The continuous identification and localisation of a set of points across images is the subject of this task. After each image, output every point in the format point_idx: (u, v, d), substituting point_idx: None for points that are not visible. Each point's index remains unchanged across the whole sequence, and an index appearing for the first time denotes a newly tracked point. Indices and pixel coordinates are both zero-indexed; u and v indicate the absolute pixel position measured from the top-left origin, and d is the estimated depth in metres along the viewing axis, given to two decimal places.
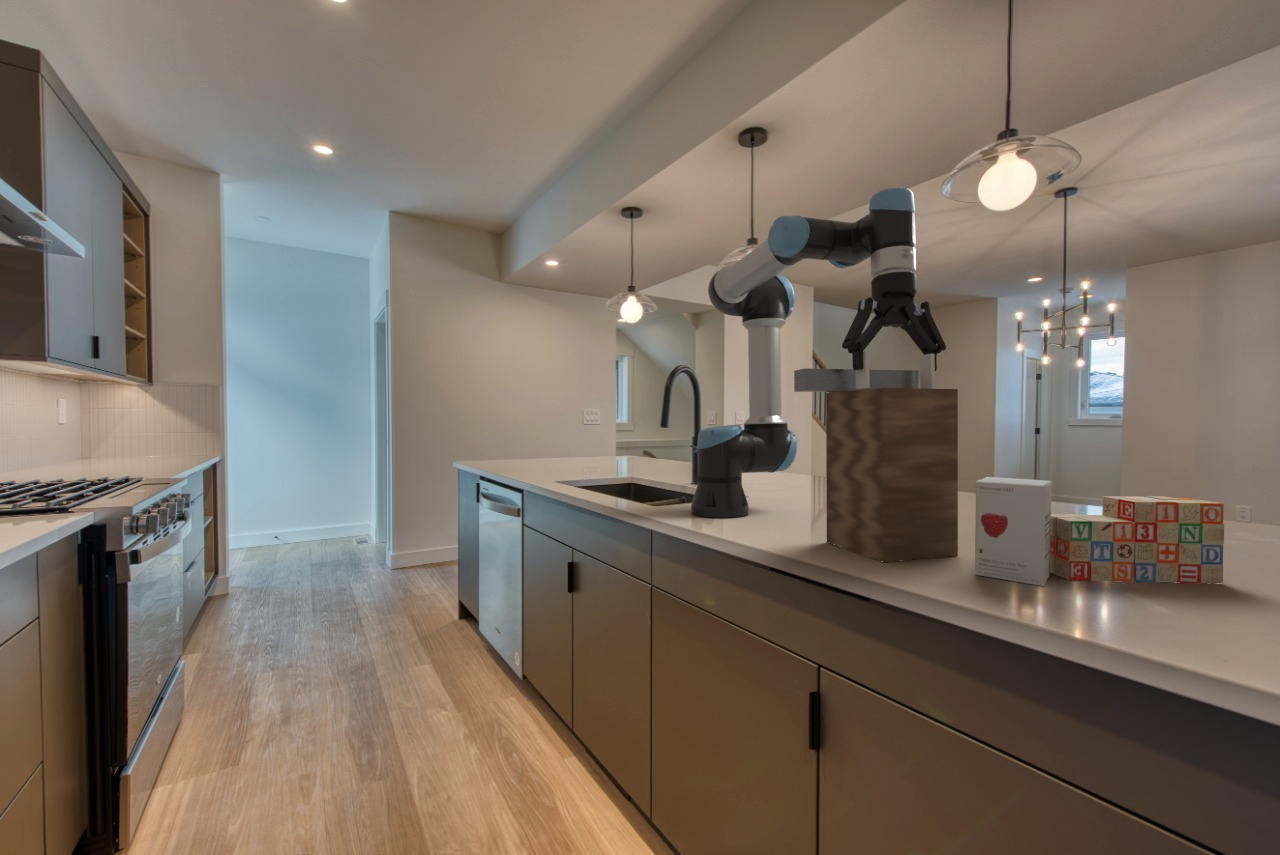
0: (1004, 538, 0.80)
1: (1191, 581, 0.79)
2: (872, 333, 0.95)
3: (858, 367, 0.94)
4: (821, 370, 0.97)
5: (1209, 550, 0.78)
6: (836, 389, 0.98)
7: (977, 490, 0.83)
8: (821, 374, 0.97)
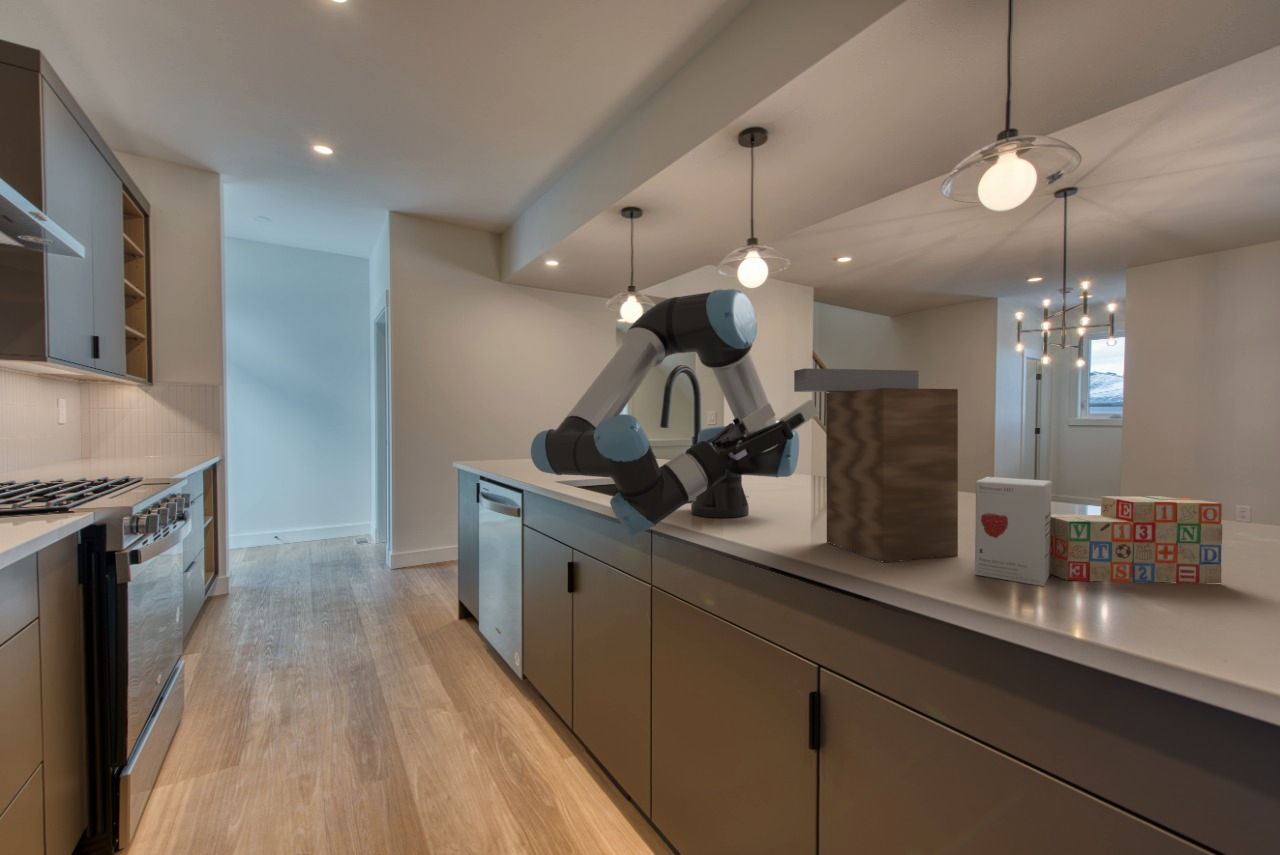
0: (1004, 538, 0.80)
1: (1189, 581, 0.78)
2: None
3: None
4: (821, 370, 0.97)
5: (1207, 550, 0.78)
6: (836, 389, 0.98)
7: (977, 490, 0.83)
8: (821, 374, 0.97)
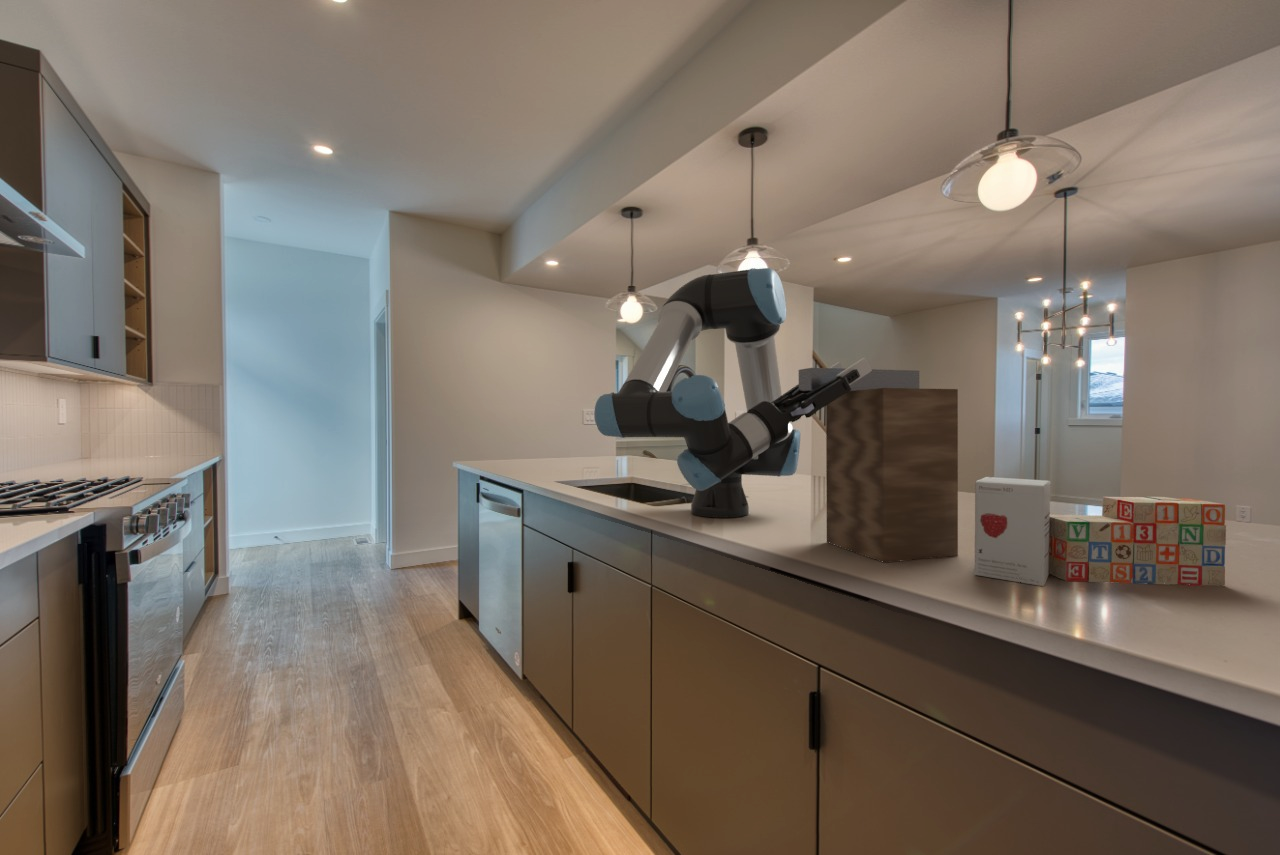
0: (1004, 538, 0.80)
1: (1192, 582, 0.78)
2: None
3: None
4: (826, 369, 0.96)
5: (1210, 551, 0.77)
6: None
7: (977, 490, 0.83)
8: (826, 374, 0.96)
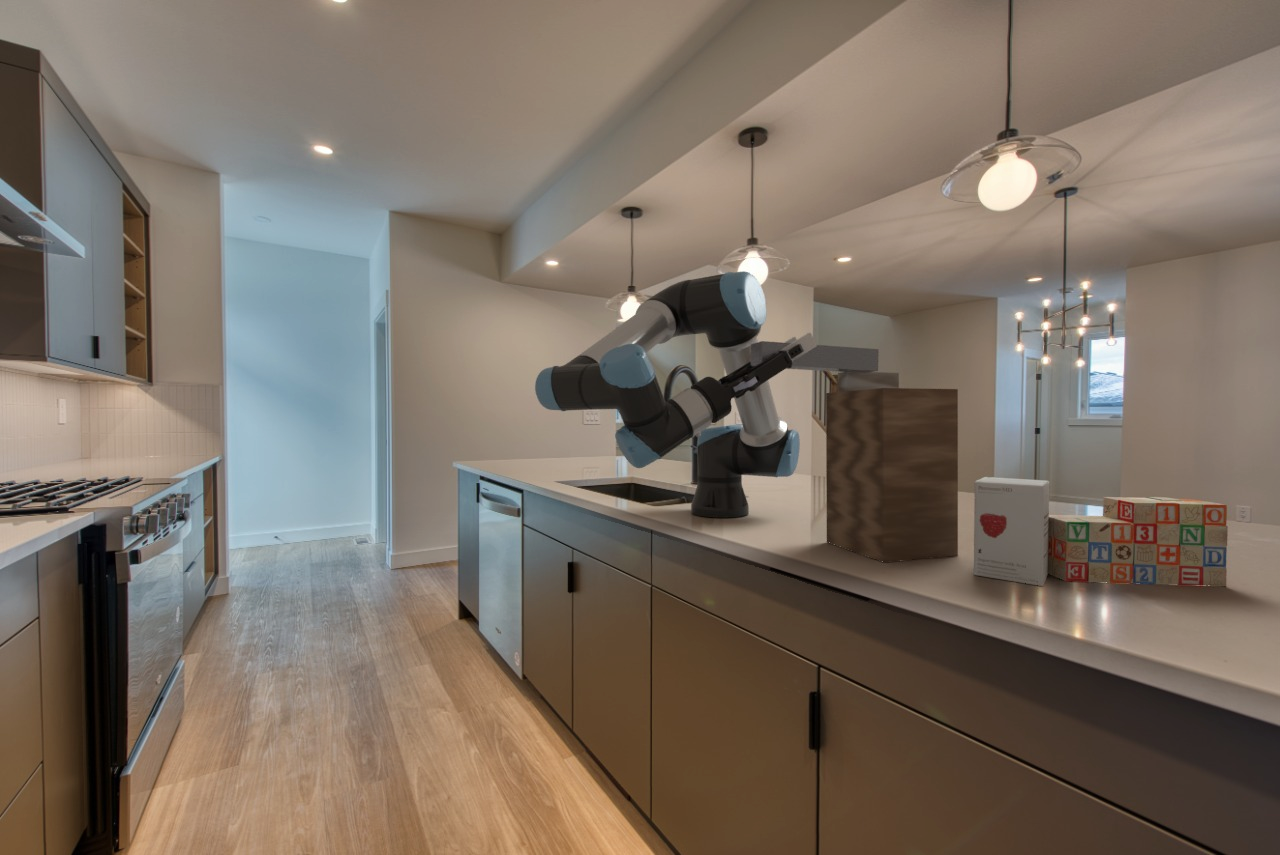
0: (1003, 538, 0.80)
1: (1193, 583, 0.77)
2: None
3: None
4: (779, 344, 0.92)
5: (1212, 552, 0.77)
6: (794, 364, 0.93)
7: (976, 490, 0.83)
8: (778, 348, 0.92)
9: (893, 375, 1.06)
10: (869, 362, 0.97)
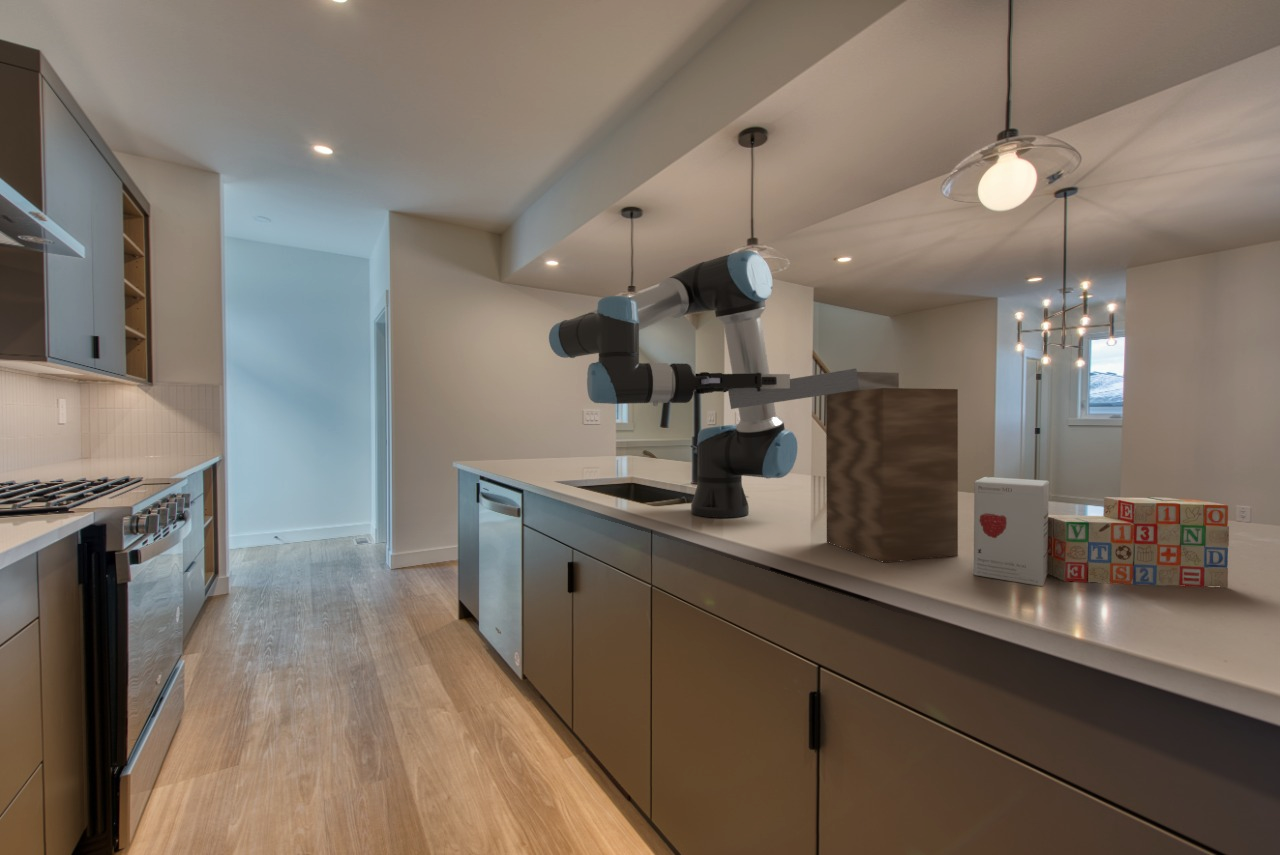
0: (1003, 538, 0.80)
1: (1194, 584, 0.77)
2: None
3: None
4: (744, 388, 1.05)
5: (1213, 552, 0.77)
6: (762, 403, 1.04)
7: (976, 490, 0.83)
8: (745, 392, 1.05)
9: (893, 375, 1.06)
10: (847, 383, 0.99)
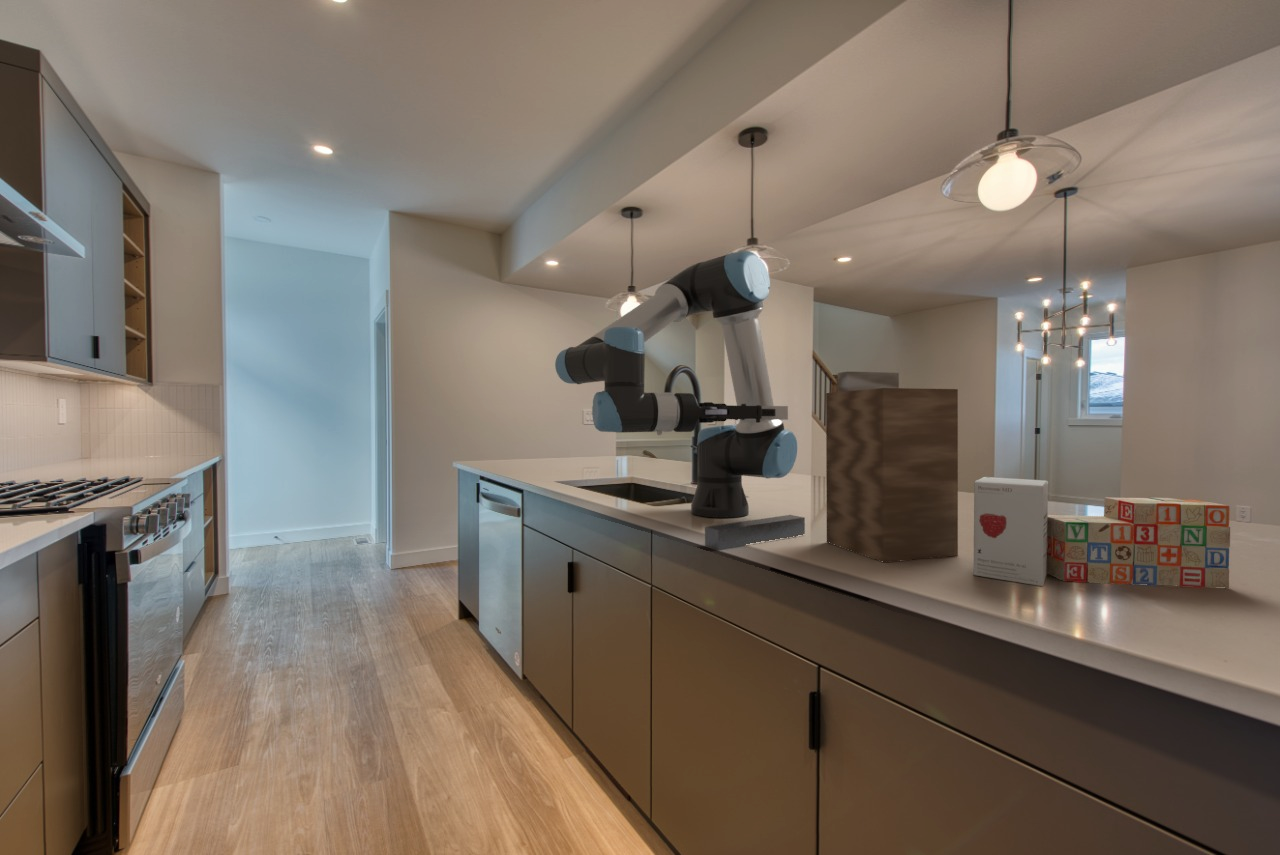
0: (1003, 538, 0.80)
1: (1194, 584, 0.77)
2: None
3: None
4: None
5: (1214, 553, 0.76)
6: None
7: (976, 490, 0.83)
8: None
9: (893, 375, 1.06)
10: None
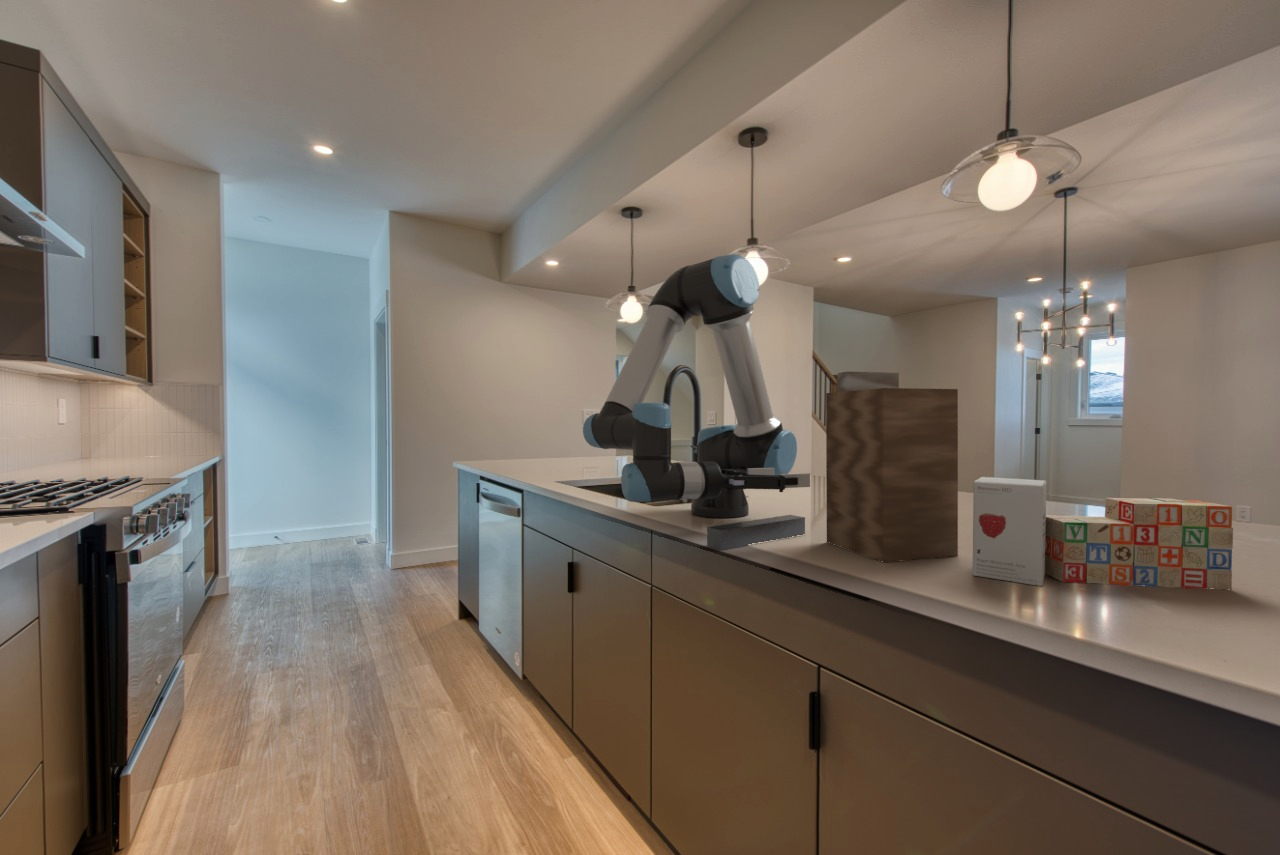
0: (1002, 538, 0.80)
1: (1196, 586, 0.76)
2: None
3: None
4: None
5: (1216, 554, 0.76)
6: None
7: (975, 490, 0.83)
8: None
9: (893, 375, 1.06)
10: None
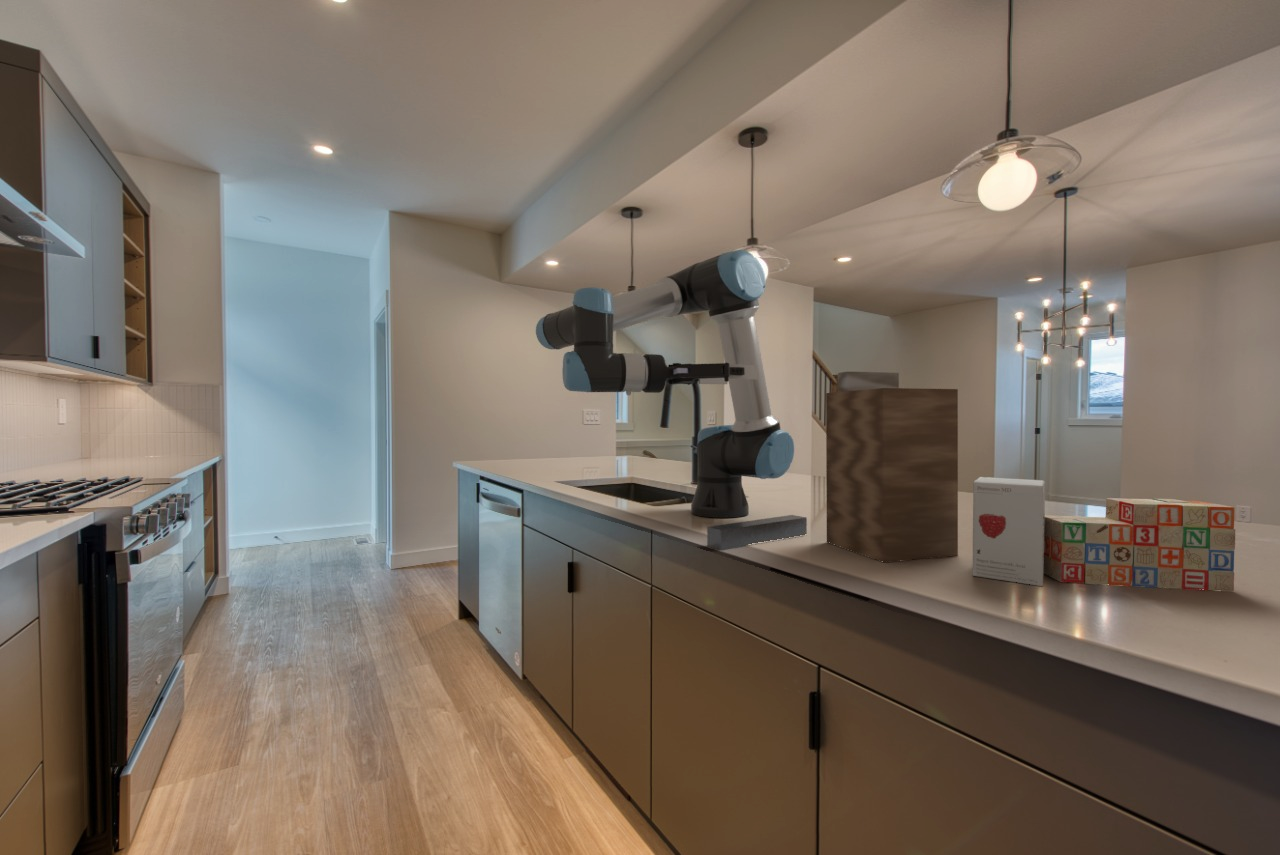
0: (1002, 538, 0.80)
1: (1197, 587, 0.76)
2: (686, 382, 1.13)
3: None
4: None
5: (1218, 556, 0.75)
6: None
7: (975, 490, 0.82)
8: None
9: (893, 375, 1.06)
10: None
